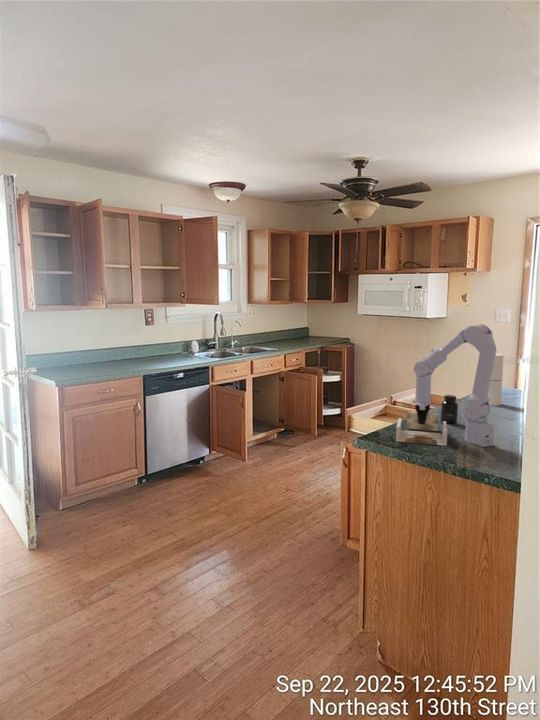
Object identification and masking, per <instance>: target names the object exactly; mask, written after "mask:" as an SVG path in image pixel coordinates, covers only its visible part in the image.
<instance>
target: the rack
mask: <svg viewBox="0 0 540 720" xmlns="http://www.w3.org/2000/svg"><path fill="white" fill-rule="evenodd" d="M402 420H403V419H402V418H397V424H396V430H395V431H396V432H395V433H396V434H395V441H396V442H402V443H407V442H406V437H407V435H409V436H415V434H422V435H433V439H434V440H437V444H435V445H438V446H447V445H448V443H447V442H448V426H447V425H448V424H446V422H445V421H443V424H442V431H441V432H442V433H441V432H429V431H417V430H407V429H406V430H403V429H402ZM412 443H415V442H412ZM424 444H425V445H427V444H426V443H423V445H424Z"/></svg>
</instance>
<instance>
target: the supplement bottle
mask: <svg viewBox="0 0 540 720" xmlns="http://www.w3.org/2000/svg"><path fill="white" fill-rule="evenodd" d="M456 401H457V396H456V395H453V394H452V395H451V394H444V398H443V401H442V402H441V403H440V404H441V405H440V406H441V407H440V420H439V421H440V423H441V424H442V423H443V421H445V422H446V424H447V425H449V426H451V425H452V426H456V425H457V423H458V415H459V404H458V402H456ZM455 424H456V425H455Z"/></svg>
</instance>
